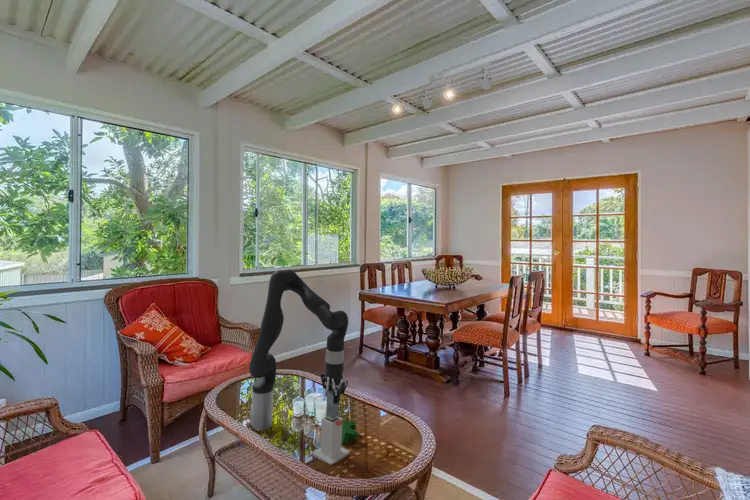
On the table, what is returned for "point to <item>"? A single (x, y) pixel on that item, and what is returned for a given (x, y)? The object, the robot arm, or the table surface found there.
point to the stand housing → (331, 442)
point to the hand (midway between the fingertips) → (332, 401)
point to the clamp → (348, 431)
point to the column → (331, 406)
